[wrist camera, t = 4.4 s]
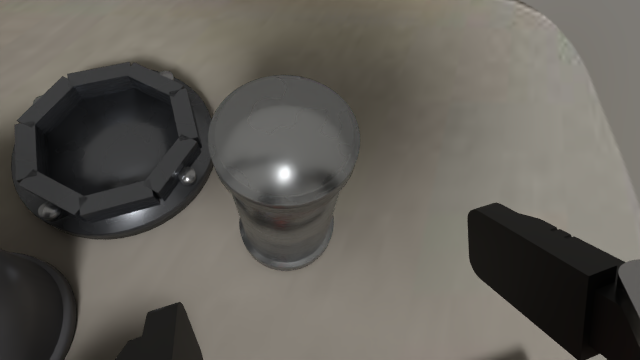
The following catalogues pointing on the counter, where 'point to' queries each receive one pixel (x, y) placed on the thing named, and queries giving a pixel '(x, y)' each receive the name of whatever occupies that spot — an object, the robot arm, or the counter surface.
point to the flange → (112, 151)
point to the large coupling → (34, 309)
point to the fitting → (284, 164)
